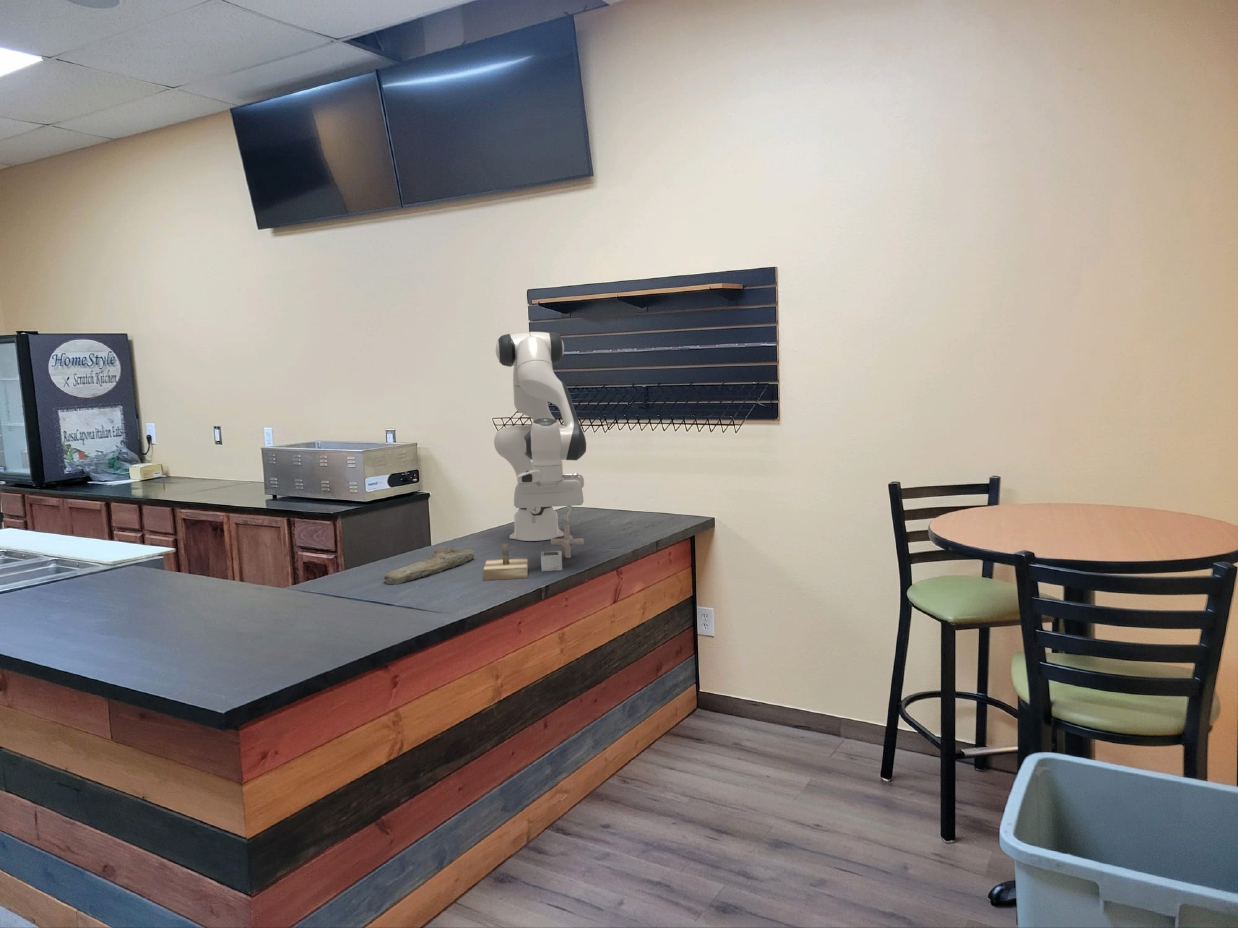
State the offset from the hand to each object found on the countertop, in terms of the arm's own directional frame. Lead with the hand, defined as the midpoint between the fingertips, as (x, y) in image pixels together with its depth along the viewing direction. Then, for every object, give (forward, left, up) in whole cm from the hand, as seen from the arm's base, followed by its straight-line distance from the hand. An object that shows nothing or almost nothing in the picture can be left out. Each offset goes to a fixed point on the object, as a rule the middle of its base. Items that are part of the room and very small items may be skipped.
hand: (549, 521), depth 249 cm
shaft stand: (+4, -13, -14) cm, 19 cm away
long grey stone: (-6, -36, -15) cm, 39 cm away
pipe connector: (-13, +5, -14) cm, 20 cm away
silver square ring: (0, 0, -14) cm, 14 cm away
